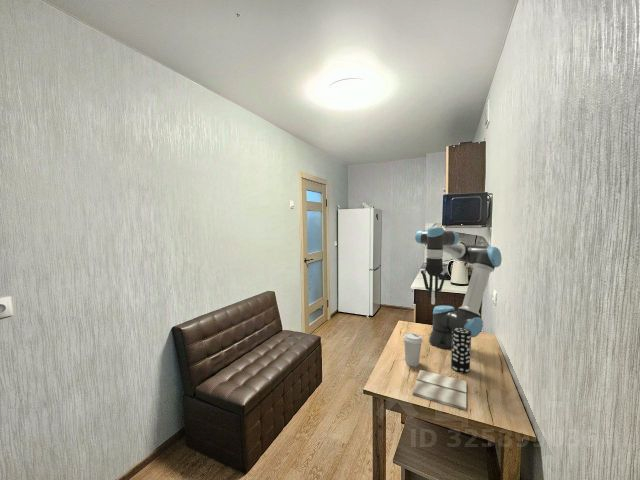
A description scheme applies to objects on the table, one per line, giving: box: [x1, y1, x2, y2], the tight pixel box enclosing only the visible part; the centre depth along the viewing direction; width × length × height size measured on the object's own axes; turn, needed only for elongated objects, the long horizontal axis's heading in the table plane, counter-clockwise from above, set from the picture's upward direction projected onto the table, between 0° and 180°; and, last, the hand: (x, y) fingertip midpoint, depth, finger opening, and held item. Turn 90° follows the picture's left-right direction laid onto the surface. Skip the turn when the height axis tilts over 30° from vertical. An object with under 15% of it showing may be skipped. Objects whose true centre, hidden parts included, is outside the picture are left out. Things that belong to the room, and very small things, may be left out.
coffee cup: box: [402, 332, 424, 367], centre depth 140 cm, size 10×10×15 cm
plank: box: [416, 369, 467, 395], centre depth 123 cm, size 20×9×1 cm, turn 61°
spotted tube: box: [450, 327, 472, 374], centre depth 135 cm, size 8×8×20 cm
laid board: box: [412, 380, 467, 412], centre depth 114 cm, size 20×10×1 cm, turn 61°
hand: (433, 303), depth 137 cm, fingers closed
